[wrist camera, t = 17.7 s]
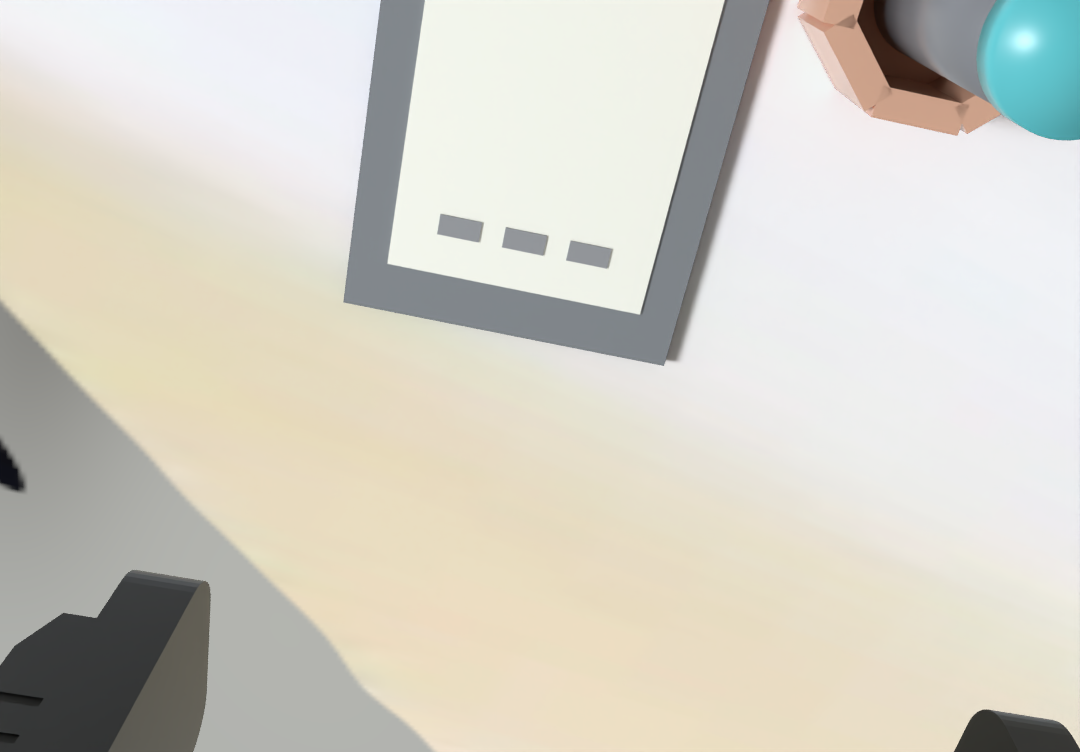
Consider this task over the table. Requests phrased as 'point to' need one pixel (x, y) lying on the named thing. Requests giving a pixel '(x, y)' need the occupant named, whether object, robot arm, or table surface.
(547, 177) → the grey tablet
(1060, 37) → the marker
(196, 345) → the table surface
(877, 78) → the pen cup
